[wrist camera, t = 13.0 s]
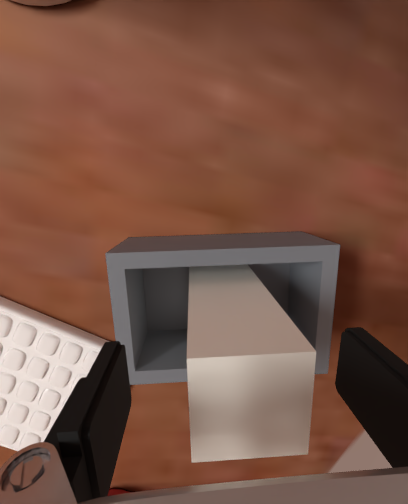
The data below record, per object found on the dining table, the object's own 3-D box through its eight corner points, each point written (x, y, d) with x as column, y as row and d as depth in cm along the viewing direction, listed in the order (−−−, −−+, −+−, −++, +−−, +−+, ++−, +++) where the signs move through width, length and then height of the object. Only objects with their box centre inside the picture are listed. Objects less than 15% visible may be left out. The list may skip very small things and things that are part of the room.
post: (189, 263, 20) (186, 358, 9) (245, 261, 20) (316, 351, 9) (191, 315, 21) (191, 462, 10) (244, 312, 21) (307, 454, 10)
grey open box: (128, 237, 20) (105, 253, 15) (301, 231, 21) (340, 244, 15) (138, 338, 22) (121, 385, 17) (295, 330, 23) (327, 373, 17)
